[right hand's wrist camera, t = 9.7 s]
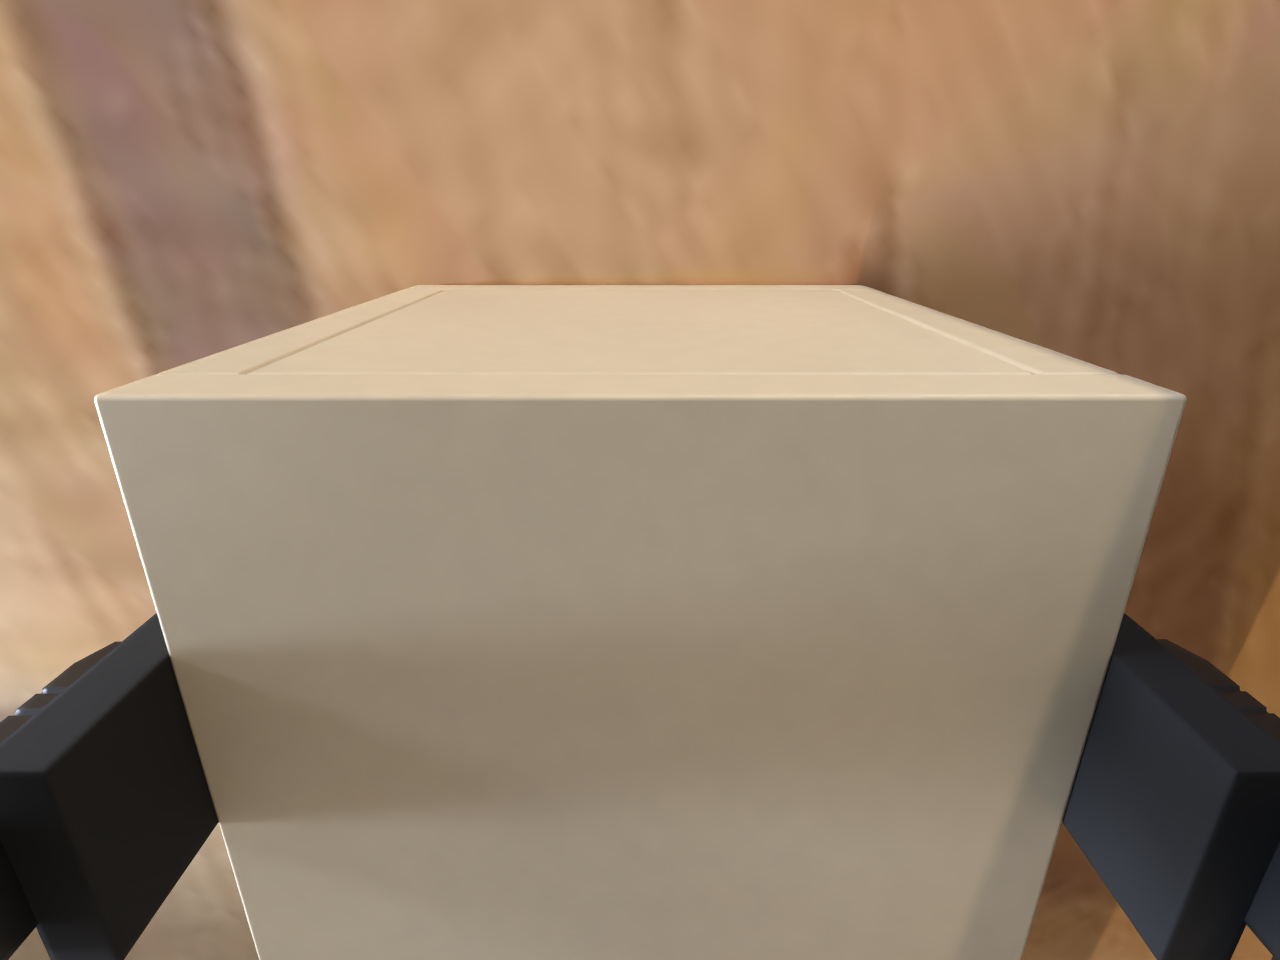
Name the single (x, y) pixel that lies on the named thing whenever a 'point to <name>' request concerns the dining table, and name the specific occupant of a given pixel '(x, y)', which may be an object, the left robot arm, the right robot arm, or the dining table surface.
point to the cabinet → (640, 617)
